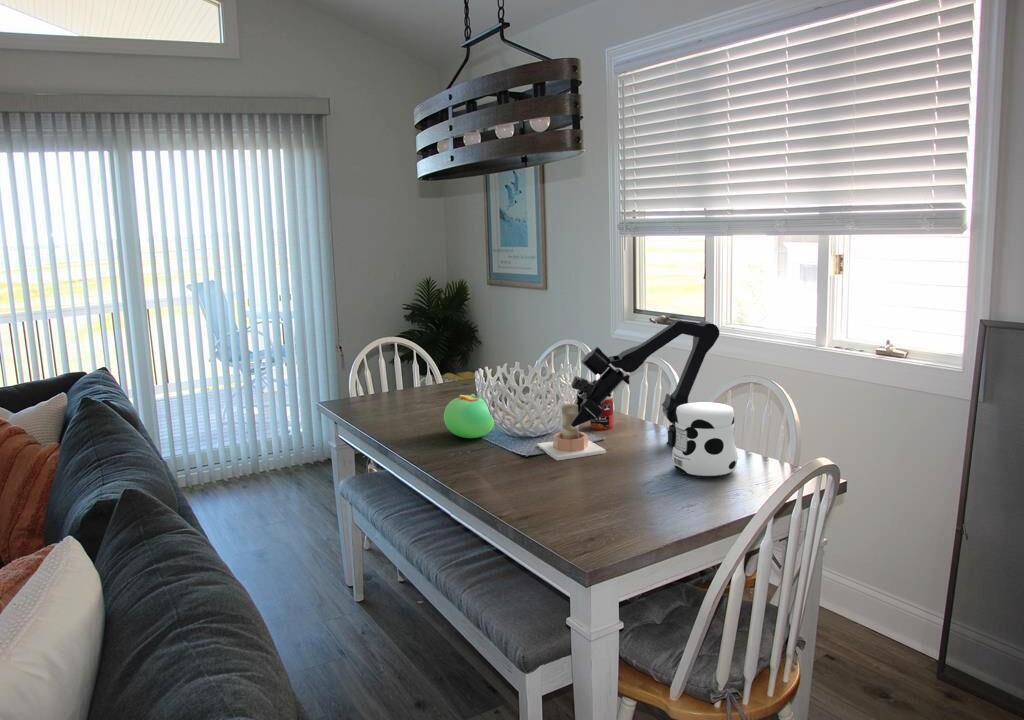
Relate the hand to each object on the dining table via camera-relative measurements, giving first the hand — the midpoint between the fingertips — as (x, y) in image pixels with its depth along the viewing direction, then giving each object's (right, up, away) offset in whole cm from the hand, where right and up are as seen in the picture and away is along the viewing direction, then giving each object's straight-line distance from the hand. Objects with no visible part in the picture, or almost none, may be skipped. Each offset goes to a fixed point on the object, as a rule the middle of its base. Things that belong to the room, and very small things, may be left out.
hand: (570, 421), depth 235 cm
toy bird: (-31, -7, +21) cm, 38 cm away
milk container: (+35, -12, -24) cm, 44 cm away
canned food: (+13, -4, +26) cm, 29 cm away
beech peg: (0, -8, +1) cm, 8 cm away
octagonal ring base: (0, -9, +2) cm, 9 cm away
